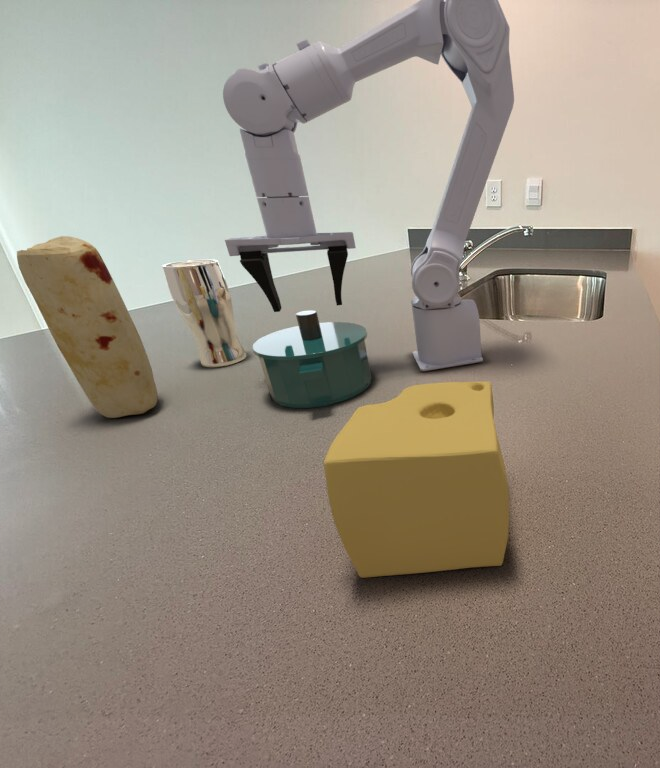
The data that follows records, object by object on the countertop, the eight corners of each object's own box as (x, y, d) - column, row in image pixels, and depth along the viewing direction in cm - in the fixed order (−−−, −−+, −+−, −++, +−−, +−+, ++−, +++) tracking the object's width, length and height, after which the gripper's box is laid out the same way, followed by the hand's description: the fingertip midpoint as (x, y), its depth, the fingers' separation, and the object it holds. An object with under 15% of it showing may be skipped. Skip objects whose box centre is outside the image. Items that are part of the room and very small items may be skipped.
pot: (367, 357, 65) (359, 317, 62) (376, 406, 50) (367, 356, 47) (280, 369, 61) (268, 327, 58) (262, 427, 46) (244, 374, 43)
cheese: (381, 485, 36) (361, 383, 32) (502, 476, 37) (498, 376, 33) (349, 587, 27) (314, 463, 22) (512, 573, 27) (508, 450, 23)
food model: (182, 406, 51) (111, 236, 42) (113, 430, 46) (17, 243, 37) (149, 388, 55) (80, 233, 47) (84, 409, 50) (-7, 239, 42)
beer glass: (225, 370, 61) (188, 267, 54) (186, 367, 62) (146, 266, 56) (259, 353, 67) (230, 259, 60) (224, 351, 68) (192, 259, 62)
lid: (365, 324, 60) (359, 295, 58) (371, 354, 49) (365, 320, 47) (263, 337, 56) (254, 306, 54) (245, 373, 45) (232, 335, 43)
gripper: (205, 199, 44) (243, 321, 50) (347, 196, 49) (366, 307, 54) (220, 198, 50) (252, 307, 56) (345, 195, 55) (363, 296, 60)
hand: (309, 306), depth 55 cm, fingers open, 7 cm apart
